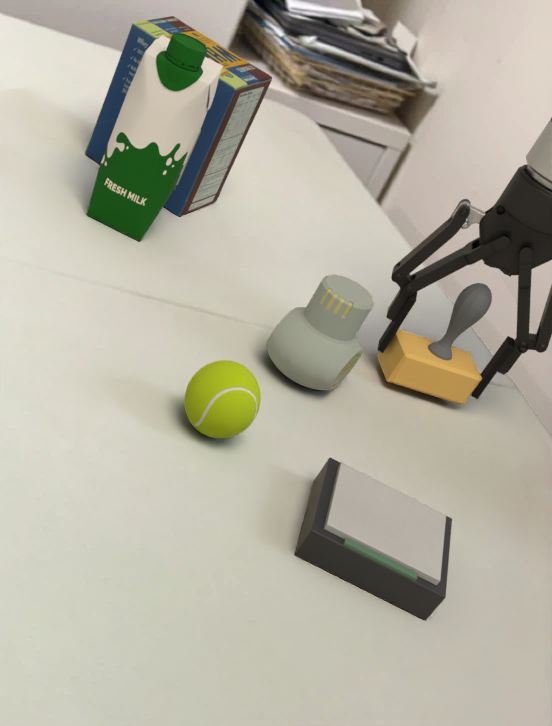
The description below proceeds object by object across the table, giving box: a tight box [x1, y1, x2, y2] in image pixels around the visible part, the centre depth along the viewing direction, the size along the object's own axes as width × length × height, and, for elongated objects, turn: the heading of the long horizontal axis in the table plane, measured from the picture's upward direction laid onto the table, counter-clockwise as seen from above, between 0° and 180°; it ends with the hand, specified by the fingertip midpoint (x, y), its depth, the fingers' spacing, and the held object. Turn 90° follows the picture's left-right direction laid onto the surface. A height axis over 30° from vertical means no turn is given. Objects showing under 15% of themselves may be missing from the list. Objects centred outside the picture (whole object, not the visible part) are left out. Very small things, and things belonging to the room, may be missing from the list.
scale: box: [294, 457, 453, 621], centre depth 99 cm, size 13×13×4 cm
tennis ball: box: [183, 359, 262, 439], centre depth 102 cm, size 7×7×7 cm
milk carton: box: [86, 33, 223, 242], centre depth 121 cm, size 9×9×20 cm
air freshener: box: [265, 274, 375, 391], centre depth 115 cm, size 11×8×10 cm
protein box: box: [84, 15, 273, 217], centre depth 133 cm, size 10×15×16 cm
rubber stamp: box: [377, 282, 493, 405], centre depth 120 cm, size 10×6×12 cm, turn 89°
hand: (427, 369), depth 124 cm, fingers closed on rubber stamp, 11 cm apart
